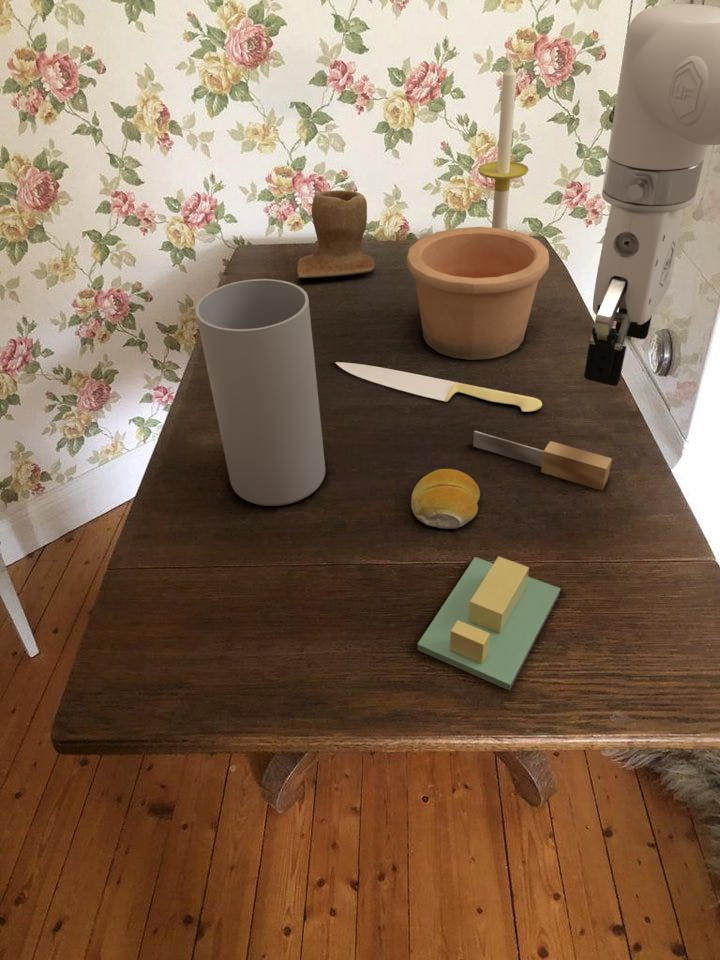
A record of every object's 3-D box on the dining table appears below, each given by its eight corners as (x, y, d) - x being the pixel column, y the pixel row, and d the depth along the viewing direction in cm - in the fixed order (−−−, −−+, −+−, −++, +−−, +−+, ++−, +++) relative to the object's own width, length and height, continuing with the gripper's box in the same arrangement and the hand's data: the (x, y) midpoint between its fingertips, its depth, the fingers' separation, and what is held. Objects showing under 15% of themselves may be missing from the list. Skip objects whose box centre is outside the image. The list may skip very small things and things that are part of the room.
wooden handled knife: (607, 480, 96) (612, 458, 93) (601, 490, 94) (606, 469, 92) (477, 441, 103) (478, 420, 101) (469, 450, 102) (470, 429, 99)
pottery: (401, 367, 119) (399, 282, 110) (415, 303, 136) (415, 225, 127) (541, 372, 116) (551, 285, 107) (537, 306, 132) (546, 226, 123)
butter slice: (488, 652, 75) (490, 633, 73) (481, 664, 74) (483, 644, 72) (456, 638, 76) (457, 619, 74) (449, 650, 75) (450, 630, 73)
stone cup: (370, 255, 153) (367, 180, 144) (377, 280, 144) (374, 201, 135) (296, 261, 153) (288, 186, 143) (298, 287, 143) (290, 208, 134)
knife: (326, 377, 119) (340, 359, 122) (533, 425, 106) (544, 403, 109) (324, 371, 119) (339, 353, 121) (534, 418, 105) (544, 396, 108)
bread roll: (481, 486, 96) (482, 461, 93) (474, 534, 89) (476, 509, 87) (416, 480, 97) (416, 455, 95) (406, 526, 91) (405, 501, 88)
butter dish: (559, 594, 81) (564, 568, 79) (509, 690, 72) (512, 665, 70) (474, 562, 86) (476, 537, 83) (417, 650, 77) (417, 624, 74)
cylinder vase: (305, 517, 93) (281, 336, 77) (214, 499, 96) (174, 323, 80) (339, 457, 102) (324, 284, 86) (255, 442, 105) (226, 274, 89)
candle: (471, 268, 146) (481, 49, 122) (523, 270, 144) (544, 48, 120) (466, 291, 139) (476, 63, 115) (521, 293, 137) (543, 62, 113)
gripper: (671, 221, 56) (629, 411, 67) (719, 155, 67) (677, 327, 78) (572, 207, 59) (548, 391, 70) (634, 146, 70) (605, 312, 81)
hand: (616, 357), depth 74 cm, fingers open, 9 cm apart
